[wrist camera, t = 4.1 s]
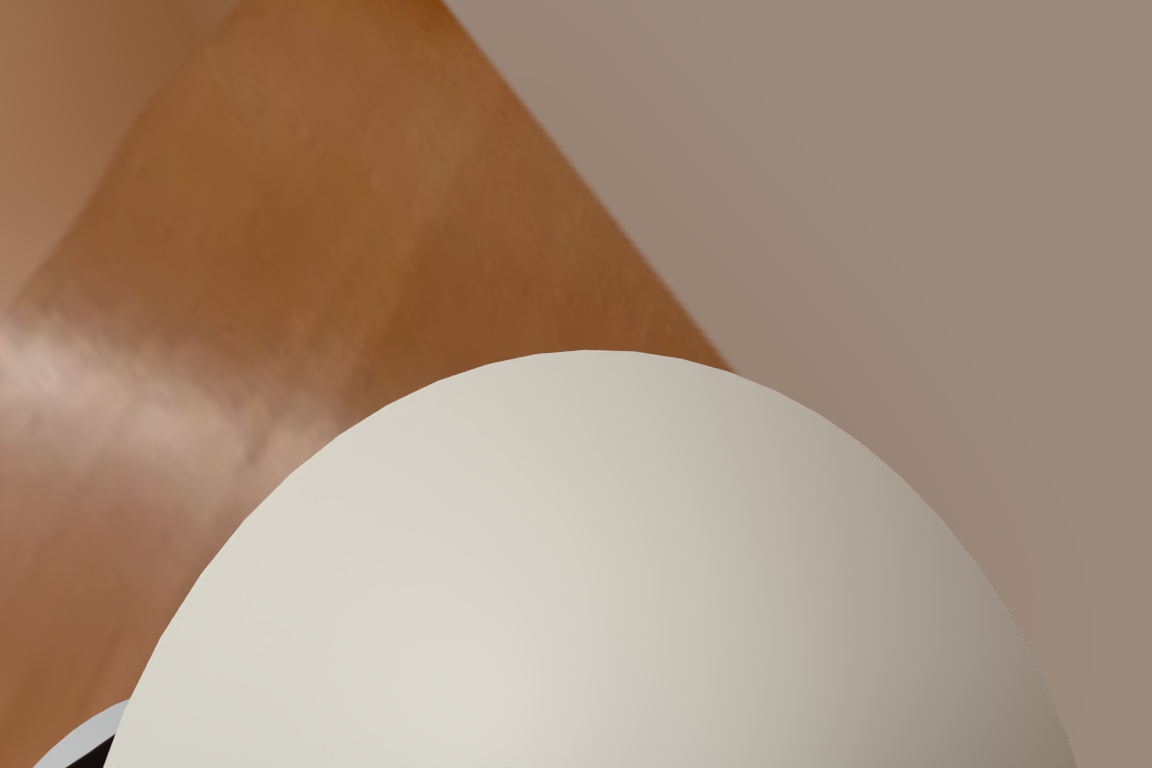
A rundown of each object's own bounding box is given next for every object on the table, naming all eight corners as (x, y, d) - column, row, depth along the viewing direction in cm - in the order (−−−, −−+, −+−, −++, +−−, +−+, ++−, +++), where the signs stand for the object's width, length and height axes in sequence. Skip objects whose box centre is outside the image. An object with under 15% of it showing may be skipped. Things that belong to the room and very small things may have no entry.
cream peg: (609, 744, 14) (1327, 1467, 2) (435, 766, 13) (-155, 2044, 1) (592, 568, 15) (927, 340, 3) (436, 580, 15) (174, 361, 3)
